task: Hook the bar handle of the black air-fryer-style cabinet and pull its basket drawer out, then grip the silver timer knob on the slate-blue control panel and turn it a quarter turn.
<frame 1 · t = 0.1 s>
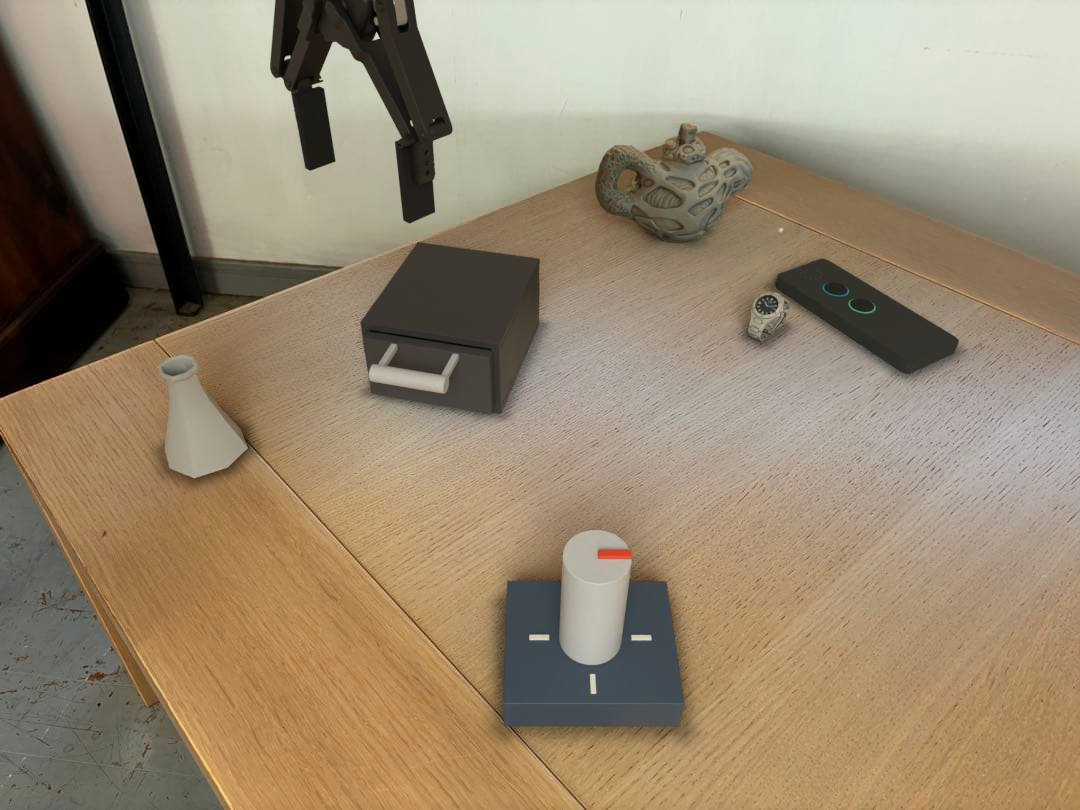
hand: (367, 189, 70), 22 cm above the table, tool pointing down, fingers open, 13 cm apart
teapot: (669, 236, 109), on the table
timer knob: (593, 597, 55), point 8 cm above the table, hinge at 0.0°
timer panel: (588, 661, 60), on the table
smart home device: (859, 318, 95), on the table
basket: (443, 346, 82), point 5 cm above the table, slide at 0.0 cm, touching fryer
wristwatch: (766, 333, 92), on the table
flask: (207, 452, 77), on the table
fryer: (459, 357, 88), on the table
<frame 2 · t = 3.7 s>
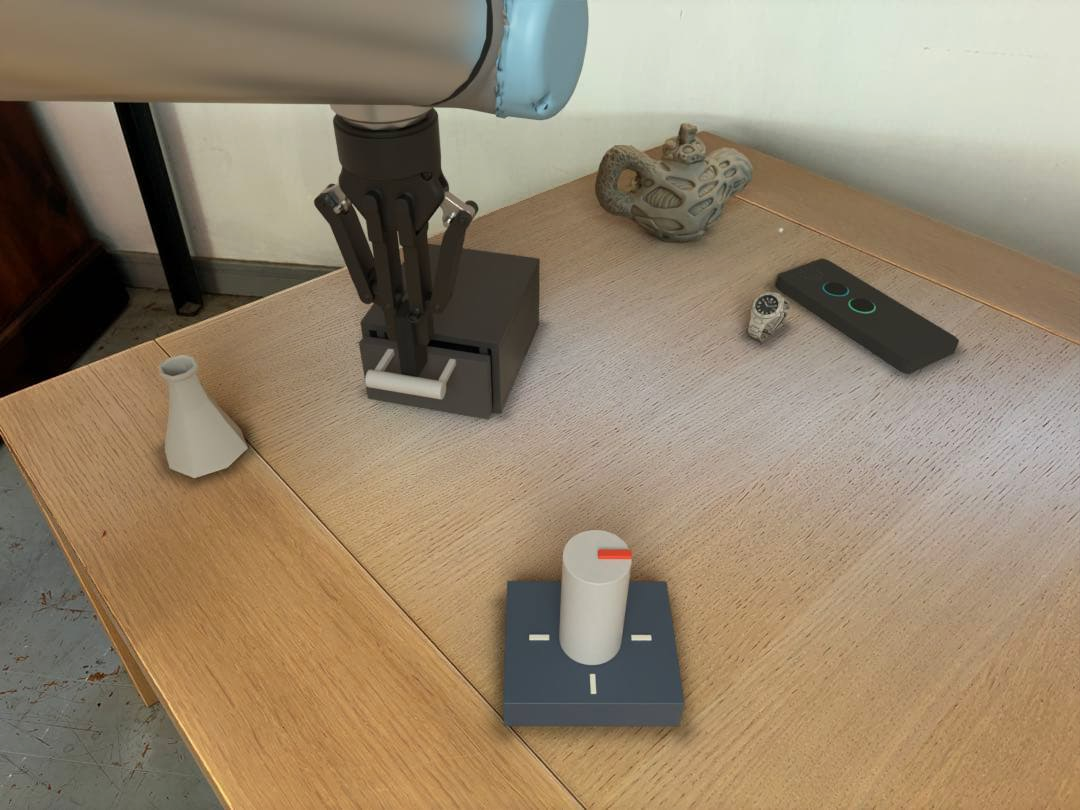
hand: (414, 368, 75), 7 cm above the table, tool pointing down, fingers closed
basket: (441, 350, 81), point 5 cm above the table, slide at 0.8 cm, touching gripper
everything else where it was.
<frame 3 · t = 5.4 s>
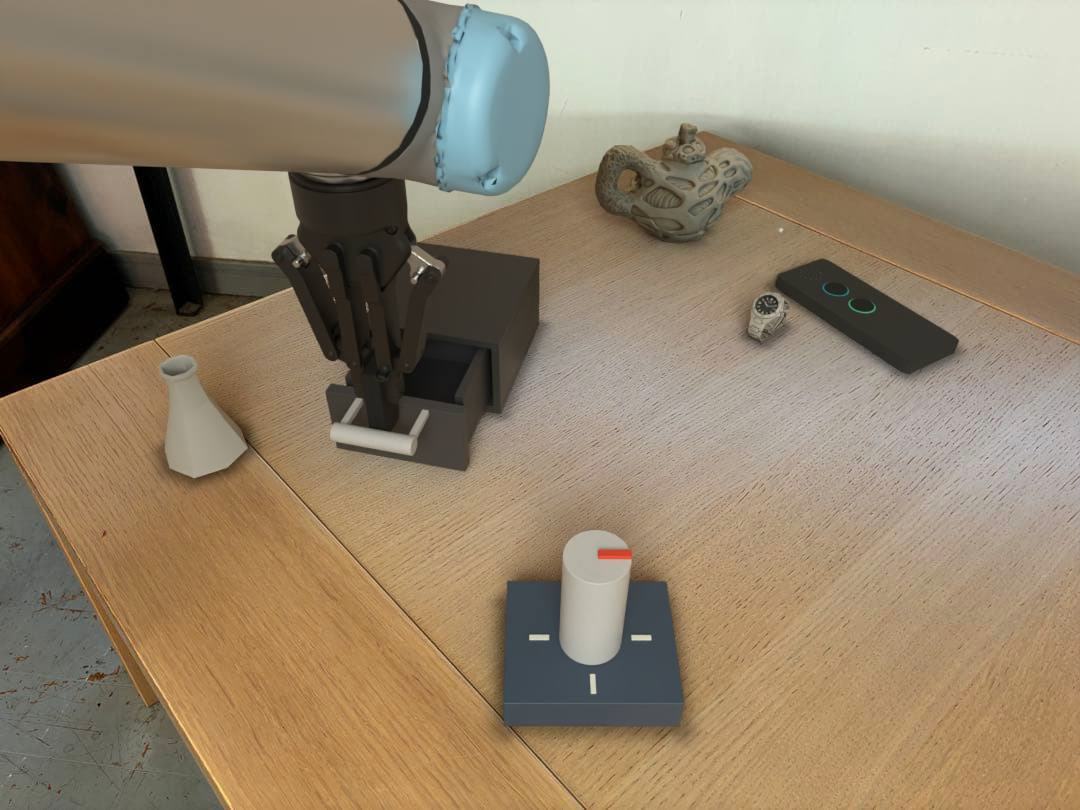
hand: (385, 426, 70), 7 cm above the table, tool pointing down, fingers closed
basket: (415, 396, 76), point 5 cm above the table, slide at 8.1 cm
everything else where it was.
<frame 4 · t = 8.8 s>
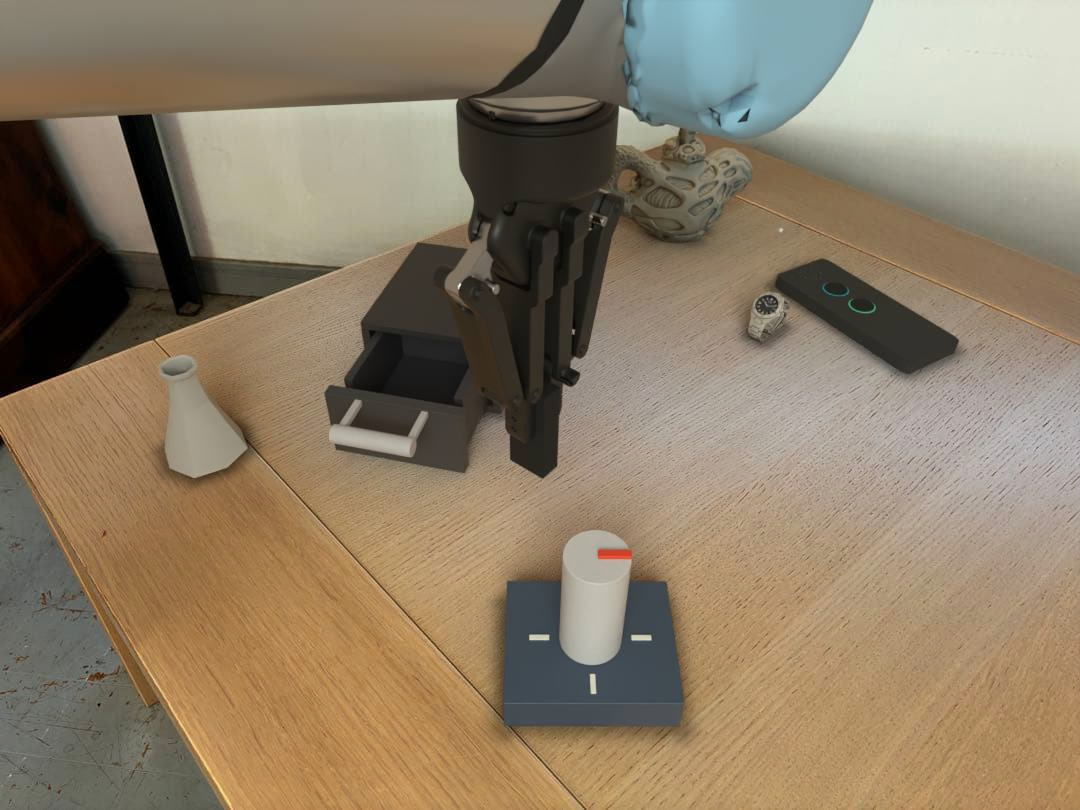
hand: (533, 462, 53), 16 cm above the table, tool pointing down, fingers closed
nothing on the table moved.
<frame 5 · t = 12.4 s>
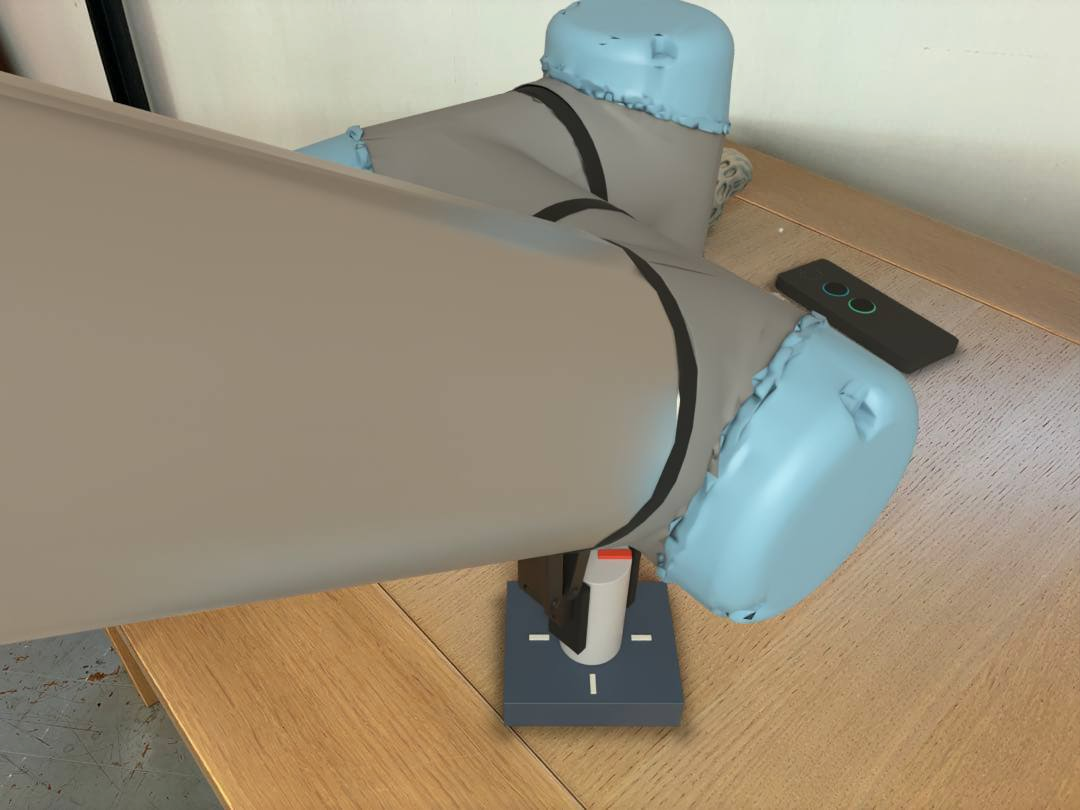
hand: (592, 615, 57), 6 cm above the table, tool pointing down, fingers closed on timer knob, 4 cm apart
timer knob: (593, 597, 55), point 8 cm above the table, hinge at 0.0°, touching gripper
everything else where it was.
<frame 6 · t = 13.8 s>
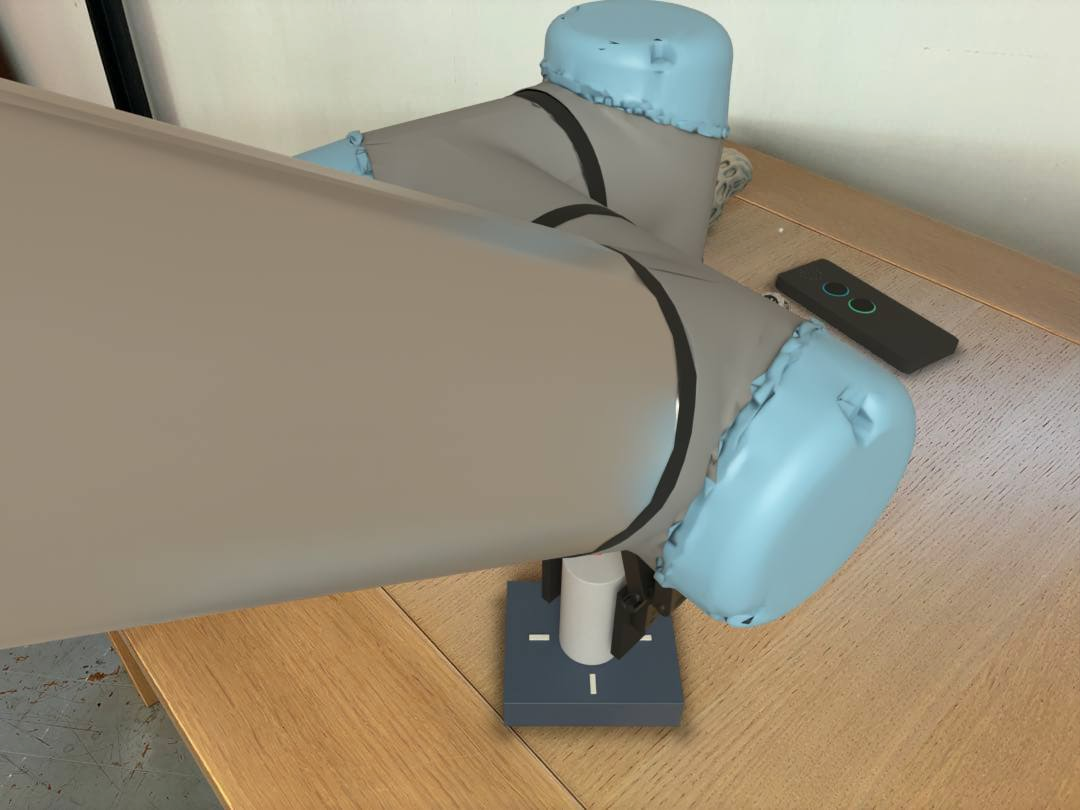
hand: (592, 615, 57), 6 cm above the table, tool pointing down, fingers open, 6 cm apart
timer knob: (593, 597, 55), point 8 cm above the table, hinge at 89.8°
everything else where it was.
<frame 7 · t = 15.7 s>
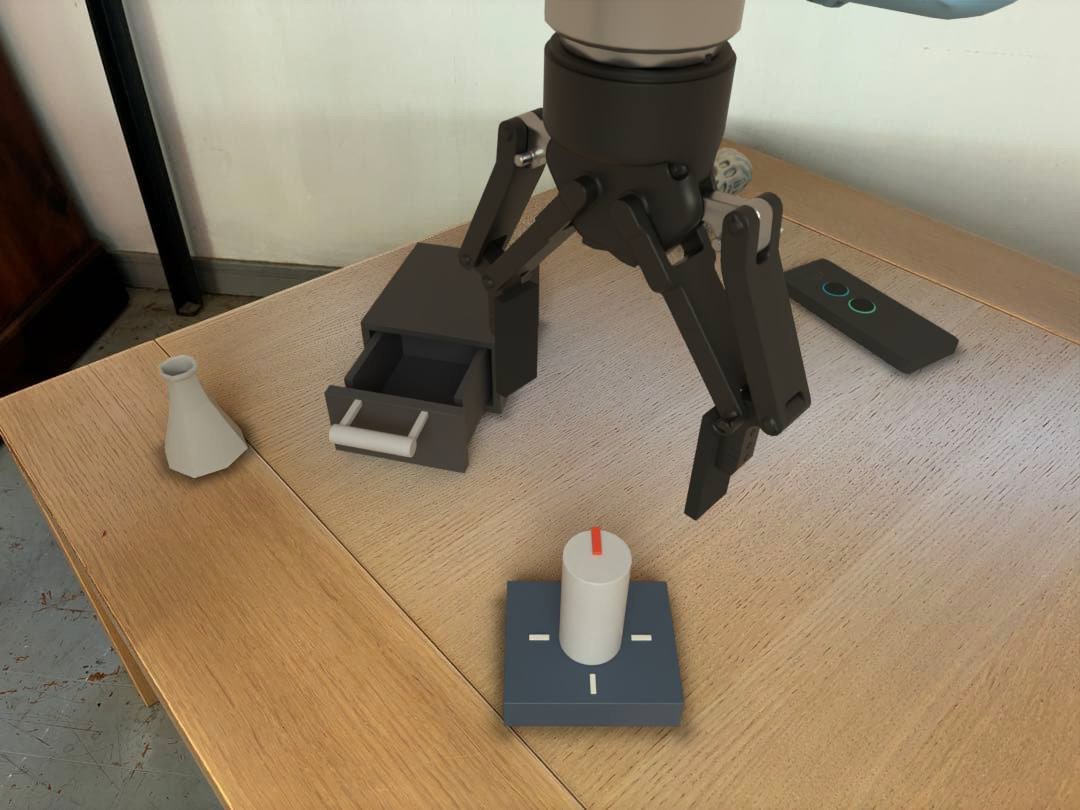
hand: (603, 440, 46), 22 cm above the table, tool pointing down, fingers open, 13 cm apart
nothing on the table moved.
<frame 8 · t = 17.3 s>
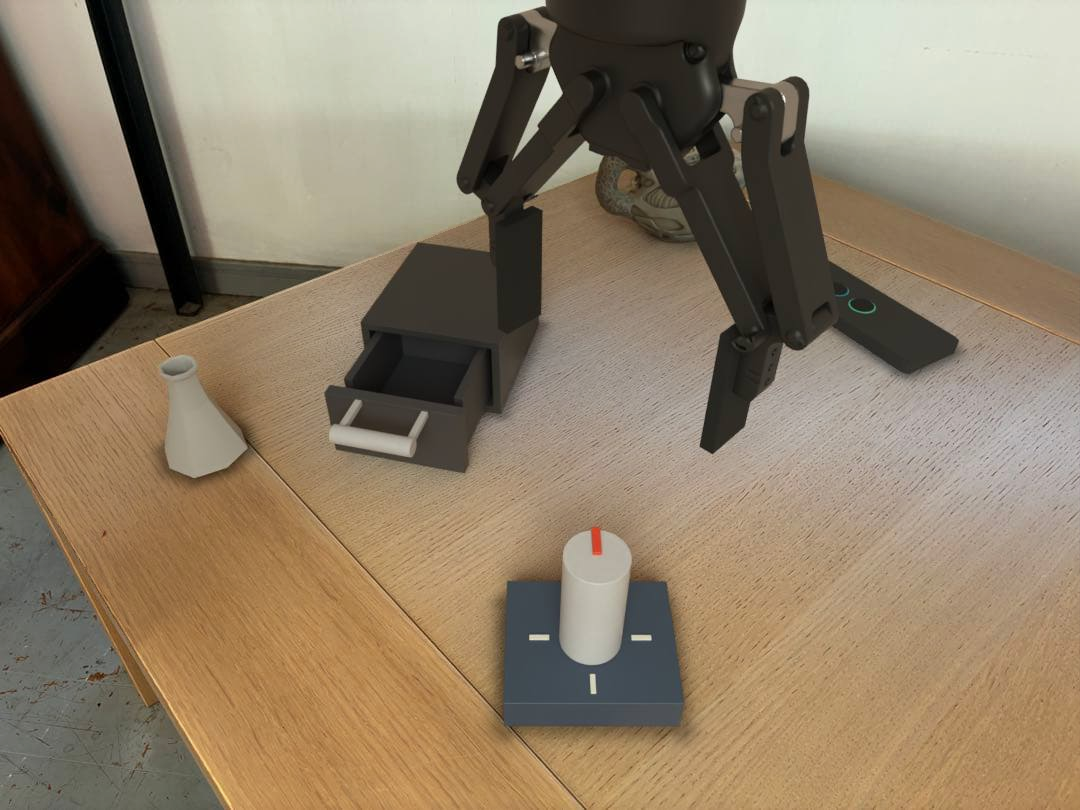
hand: (612, 375, 43), 27 cm above the table, tool pointing down, fingers open, 13 cm apart
nothing on the table moved.
at the end: basket slide at 8.3 cm; timer knob at +90° (first picture: +0°) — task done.
